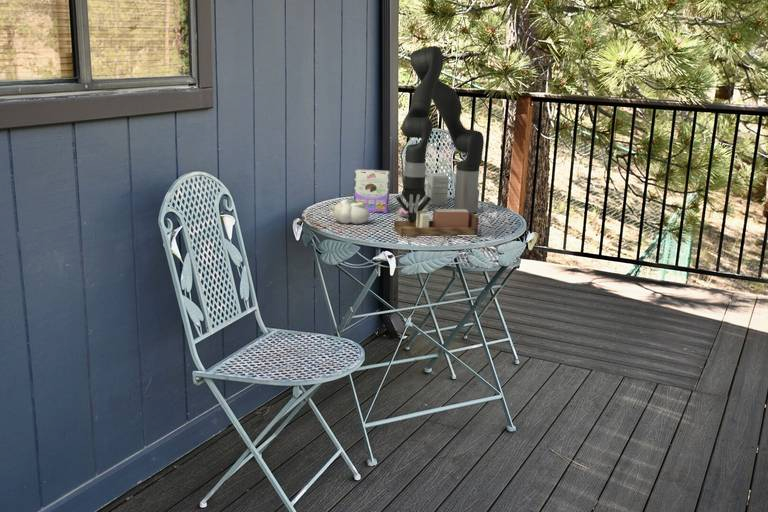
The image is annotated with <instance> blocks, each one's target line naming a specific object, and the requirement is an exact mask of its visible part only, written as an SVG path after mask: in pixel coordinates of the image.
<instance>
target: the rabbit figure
mask: <svg viewBox="0 0 768 512" xmlns="http://www.w3.org/2000/svg"><path fill="white" fill-rule="evenodd" d="M403 203H404V204H405V205H406V206H407V202H406V201H403ZM395 212H397V213H398V214H399V215H400V216H401V217H403V218H408V211H405V210H404V209H403V208H402V207H399V208H398V210H395Z"/></svg>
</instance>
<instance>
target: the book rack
mask: <svg viewBox="0 0 768 512" xmlns="http://www.w3.org/2000/svg"><path fill="white" fill-rule="evenodd" d="M468 212H469V220H468V228H432V226H433V220H429V228H417V227H416V221H415V223H410V222H409V221H408V220H400V219H399V220H397V219H396V220H394V221H393V230H394V231H395V233H396V234H398V235H400V236H402V237H401V238H418V237H417V236H457V235H478V234H479V225H480V224H479V222H480V218H479V217H478V216H477V215H475V213H471V212H470V211H468ZM400 236H399V237H400ZM403 236H405V237H403ZM406 236H407V237H406ZM478 236H479V235H478Z"/></svg>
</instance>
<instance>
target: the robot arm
mask: <svg viewBox="0 0 768 512" xmlns="http://www.w3.org/2000/svg"><path fill="white" fill-rule="evenodd" d="M444 60H445V59H444V54H443V51H442V50H441V49H440V47H439V46H437V45H433V46H427V47H424V48H420V49H416V50H413V52H411V54H410V63H411V67H412V70H413V72H414V73H415V74H416V76H417V77H418V79H419V80H420V83H419V84H418V85H417V86H416V88H415V89H414V91H413V95H412V96H411V97H412V98H411V103H410V108H409V110H408V112H407V114H406V115H405V117H404V119H403V122H402V124H401V132H402V134H403V136H404V137H406V138H414V139H415V138H416V139H420V141H419V142H418V143H411V144H408V145H407V146H406V148H405V149H406V150H405V161H404V168H403V188H402V191H401V194H400V195H396V196H395V200H396V202H398V203H399V205H400V206H401V208H403V209H404V210H405V211H408V216H407V221H409V222H410V223H415V221H416V218H417V212H419V211H422V210H423V209H424V207H425V206H426V205H427V204H428V205H429V202H430V200H431V198H430V197H429V196H427V195H426V192H425V179H426V168H427V167H426V157H427V156H426V155H427V148H428V144H429V141H430V137H431V134H432V132H433V129H434V125H433V121H432V120H431V119H430V118H428V117H429V116H430V113H431V107H432V102H433V104H434V106H435V108H436V110H437V112H438V114H439V115H440V117H441V119H442V120H443V122H444V124H445V126H446V128H447V131H448V133H449V135H450V139H451V141H452V143H453V146H454V148H455V149H456V150H457V151H458V152H461V153H467V154H466V157H465V158H464V160H460V161H457V163H456V171H455V182H454V185H455V186H454V196H453V197H454V199H453V201H454V202H453V209H466V210H467V211H470V212H471V213H473V214H475V213H474V212H478V210H479V201H480V200H479V197H480V189H479V179H480V178H479V176H480V167H481V164H482V160H483V153H484V152H483V151H484V145H485V144H484V142H485V140H484V139H485V138H484V135H483V133H482V132H481V131H480V130H475V129H474V130H472V129H467V128H465V126H464V125H463V123H462V121H461V114H462V110H463V109H462V108H463V106H462V102H461V100H460V97H459V95H458V94H457V92H456V91H455V89H454V88H452V87H451V86H450V85H448V84H447V83H445V82H443V81H441V80H440V76H441V73H442V70H443V66H444ZM423 197H424V198H423ZM422 199H423V202H422V203H421V204H420V205H419V202H420V201H421V200H422ZM404 200H405V202H406V203H407V202H408V207H406V205H407V204H406V205H405V204H404Z"/></svg>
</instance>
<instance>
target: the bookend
mask: <svg viewBox="0 0 768 512" xmlns="http://www.w3.org/2000/svg"><path fill="white" fill-rule="evenodd" d="M429 221H430V214H429V213H427V211H424V210H422V211H419V212H417V218H416V227H417V228H429Z"/></svg>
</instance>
